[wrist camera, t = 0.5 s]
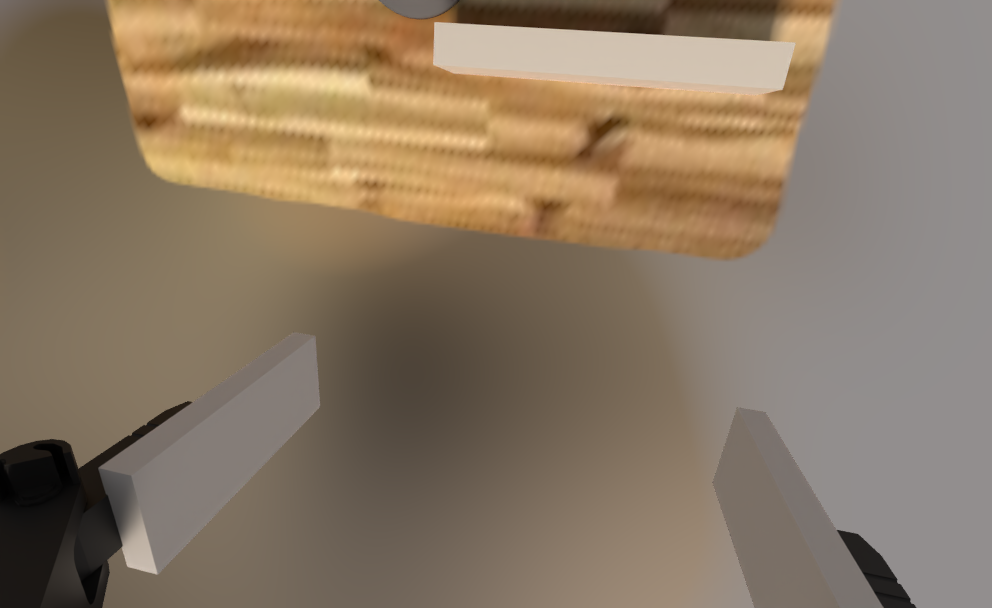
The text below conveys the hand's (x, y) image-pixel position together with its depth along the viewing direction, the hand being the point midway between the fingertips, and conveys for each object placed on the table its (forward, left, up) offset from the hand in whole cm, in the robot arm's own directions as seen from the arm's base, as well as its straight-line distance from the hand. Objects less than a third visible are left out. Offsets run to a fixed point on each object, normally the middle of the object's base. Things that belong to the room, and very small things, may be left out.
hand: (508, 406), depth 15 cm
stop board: (-13, +1, -26) cm, 29 cm away
